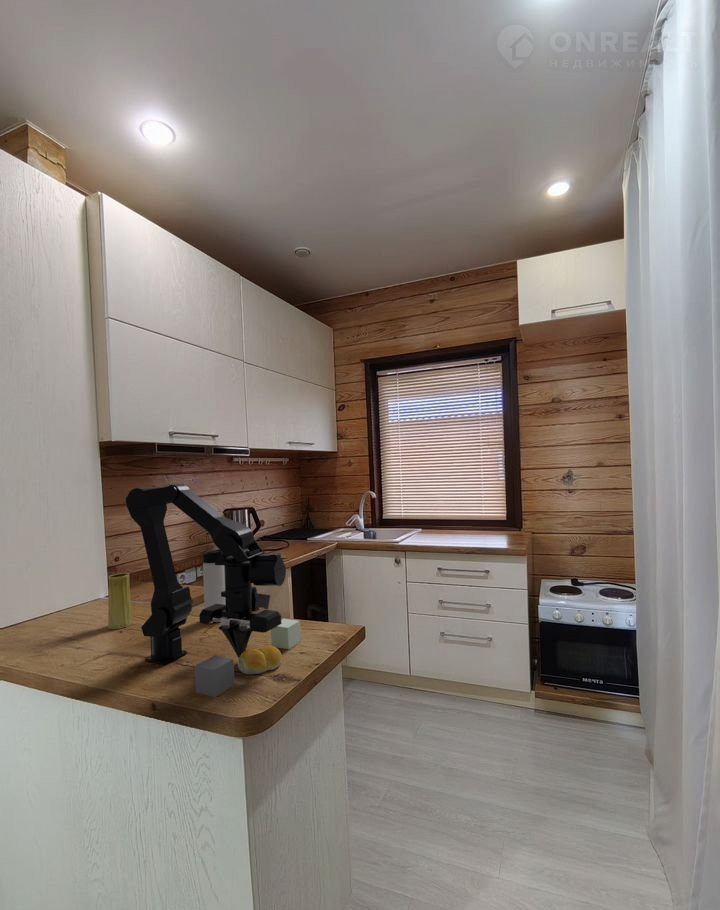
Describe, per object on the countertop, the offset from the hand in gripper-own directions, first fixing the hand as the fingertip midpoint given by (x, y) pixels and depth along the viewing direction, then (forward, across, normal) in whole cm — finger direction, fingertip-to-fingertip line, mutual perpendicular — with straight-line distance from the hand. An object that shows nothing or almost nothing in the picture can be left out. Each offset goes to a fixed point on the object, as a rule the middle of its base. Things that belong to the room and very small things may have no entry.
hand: (241, 656), depth 96 cm
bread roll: (+2, -5, 0) cm, 5 cm away
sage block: (+1, -3, -12) cm, 13 cm away
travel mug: (+1, +27, -20) cm, 33 cm away
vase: (+2, +51, -7) cm, 51 cm away
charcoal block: (+1, -3, +11) cm, 12 cm away
